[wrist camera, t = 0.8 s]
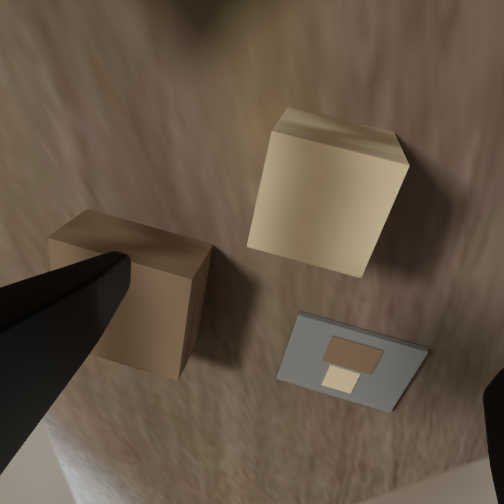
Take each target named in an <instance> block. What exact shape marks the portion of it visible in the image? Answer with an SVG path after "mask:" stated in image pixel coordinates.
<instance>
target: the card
mask: <svg viewBox="0 0 504 504" xmlns="http://www.w3.org/2000/svg"><path fill="white" fill-rule="evenodd" d="M427 354H428V349H427V347H423V346H420V345H416V344H413V343H409V342H406V341H402V340H399V339H395V338H392V337H388V336H385V335H381V334H378V333H374V332H371V331H367V330H364V329H361V328H357V327H354V326H350V325H347V324H343V323H340V322H336V321H333V320H329V319H326V318H322V317H319V316H315V315H312V314H308V313H305V312H301V311H298V314H297V317H296V320H295V323H294V326H293V329H292V332H291V335H290V338H289V341H288V344H287V347H286V350H285V352H284V355H283V358H282V361H281V364H280V367H279V370H278V373H277V377H276V379H279V380H282V381H285V382H289V383H292V384H295V385H299V386H302V387H305V388H309V389H312V390H315V391H318V392H322V393H325V394H328V395H332V396H335V397H338V398H342V399H345V400H348V401H352V402H355V403H358V404H362V405H365V406H368V407H372V408H375V409H378V410H382V411H385V412H388V413H390V412H391V411H392V409H393V408H394V406H395V404H396V403H397V401H398V400H399V398H400V396H401V395H402V393H403V392H404V390H405V389H406V387H407V385H408V384H409V382H410V381H411V379H412V377H413V376H414V374H415V373H416V371H417V370H418V368H419V366H420V365H421V363H422V362H423V360H424V358H425V357H426V355H427Z"/></svg>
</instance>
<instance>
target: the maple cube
mask: <svg viewBox="0 0 504 504" xmlns="http://www.w3.org/2000/svg"><path fill="white" fill-rule="evenodd" d="M409 166H410V165H409V163H408V161H407V159H406V157H405V155H404V152H403V150H402V148H401V146H400V144H399V142H398V140H397V137H396V135H395V133H394V132H390V131H386V130H382V129H378V128H374V127H370V126H366V125H362V124H358V123H354V122H350V121H346V120H342V119H337V118H333V117H329V116H325V115H321V114H317V113H313V112H309V111H305V110H301V109H297V108H293V107H288V108H287V109H286V111H285V112H284V114H283V115H282V117H281V118H280V120H279V121H278V123H277V124H276V126H275V127H274V129H273V130H272V133H271V137H270V142H269V147H268V151H267V156H266V160H265V165H264V170H263V174H262V179H261V183H260V188H259V193H258V197H257V202H256V206H255V211H254V216H253V220H252V225H251V229H250V234H249V238H248V243H247V247H250V248H253V249H257V250H261V251H264V252H268V253H272V254H275V255H279V256H282V257H286V258H290V259H293V260H297V261H300V262H304V263H308V264H311V265H315V266H319V267H322V268H326V269H329V270H333V271H337V272H340V273H344V274H347V275H351V276H355V277H358V278H361V277H362V275H363V273H364V271H365V268H366V266H367V264H368V261H369V259H370V257H371V254H372V252H373V250H374V247H375V245H376V243H377V240H378V238H379V236H380V233H381V231H382V229H383V226H384V224H385V222H386V220H387V217H388V215H389V213H390V210H391V208H392V206H393V203H394V201H395V199H396V196H397V194H398V192H399V189H400V187H401V185H402V182H403V180H404V178H405V175H406V173H407V171H408V169H409Z"/></svg>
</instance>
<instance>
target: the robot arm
mask: <svg viewBox="0 0 504 504" xmlns="http://www.w3.org/2000/svg"><path fill="white" fill-rule="evenodd" d="M130 282H131V257H130V256H129V255H128V254H125V253H122V252H118V251H110V252H107V253H104V254H101V255H98V256H95V257H92V258H89V259H86V260H83V261H80V262H77V263H74V264H71V265H68V266H65V267H62V268H59V269H56V270H52V271H49V272H46V273H43V274H40V275H37V276H34V277H31V278H28V279H25V280H22V281H19V282H16V283H13V284H10V285H7V286H4V287H1V288H0V475H1V473H2V472H3V471H4V469H5V468H6V467H7V465H8V464H9V463H10V461H11V460H12V458H13V457H14V456H15V454H16V453H17V452H18V450H19V449H20V448H21V446H22V445H23V443H24V442H25V441H26V439H27V438H28V437H29V435H30V434H31V433H32V431H33V430H34V429H35V427H36V426H37V425H38V423H39V422H40V420H41V419H42V418H43V416H44V415H45V414H46V412H47V411H48V410H49V408H50V407H51V406H52V404H53V403H54V401H55V400H56V399H57V397H58V396H59V395H60V393H61V392H62V391H63V389H64V388H65V387H66V385H67V384H68V382H69V381H70V380H71V378H72V377H73V376H74V374H75V373H76V372H77V370H78V369H79V367H80V366H81V365H82V363H83V362H84V361H85V359H86V358H87V357H88V355H89V354H90V353H91V351H92V350H93V348H94V347H95V346H96V344H97V343H98V341H99V340H100V338H101V337H102V335H103V333H104V332H105V330H106V328H107V326H108V325H109V323H110V321H111V319H112V318H113V316H114V314H115V312H116V311H117V309H118V307H119V305H120V304H121V302H122V300H123V298H124V297H125V295H126V293H127V291H128V289H129V286H130ZM483 405H484V415H485V424H486V434H487V444H488V453H489V460H490V467H491V472H492V477H493V482H494V486H495V491H496V495H497V500H498V504H504V368H503V369H501V370H500V371H499V373H498V374H497V375H496V376H495V378H494V379H493V380H492V381H491V382H490V384H489V385H488V386H487V387H486V389H485V391H484V394H483Z"/></svg>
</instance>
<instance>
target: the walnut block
mask: <svg viewBox="0 0 504 504" xmlns="http://www.w3.org/2000/svg"><path fill="white" fill-rule="evenodd" d="M47 242H48V251H49V260H50V269H51V271H52V270H56V269H59V268H62V267H65V266H68V265H71V264H74V263H77V262H80V261H83V260H86V259H89V258H92V257H95V256H98V255H101V254H104V253H107V252H110V251H118V252H122V253H125V254H128V255H129V256H130V257H131V282H130V286H129V289H128V291H127V293H126V295H125V297H124V298H123V300H122V302H121V304H120V305H119V307H118V309H117V311H116V312H115V314H114V316H113V318H112V319H111V321H110V323H109V325H108V326H107V328H106V330H105V332H104V333H103V335H102V337H101V338H100V340H99V341H98V343H97V344H96V346H95V347H94V348H93V350H92V351H91V353H90V354H92V355H95V356H98V357H101V358H105V359H108V360H111V361H114V362H117V363H121V364H124V365H127V366H130V367H134V368H137V369H140V370H143V371H146V372H150V373H153V374H156V375H159V376H163V377H166V378H169V379H172V380H175V381H178V380H179V378H180V376H181V374H182V372H183V370H184V368H185V365H186V363H187V361H188V359H189V357H190V355H191V353H192V350H193V348H194V346H195V344H196V342H197V340H198V334H199V328H200V322H201V316H202V309H203V303H204V297H205V291H206V285H207V279H208V273H209V267H210V261H211V255H212V248H213V244H210V243H206V242H203V241H199V240H196V239H192V238H188V237H185V236H181V235H178V234H174V233H171V232H167V231H163V230H160V229H156V228H153V227H149V226H146V225H142V224H138V223H135V222H131V221H128V220H124V219H121V218H117V217H113V216H110V215H106V214H103V213H99V212H95V211H92V210H88V209H87V210H85V211H84V212H82V213H81V214H80V215H78V216H77V217H75V218H74V219H72V220H71V221H70V222H68V223H67V224H65V225H64V226H63V227H61V228H60V229H58V230H57V231H56V232H54V233H53V234H51V235H50V236H49V237H47Z"/></svg>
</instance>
